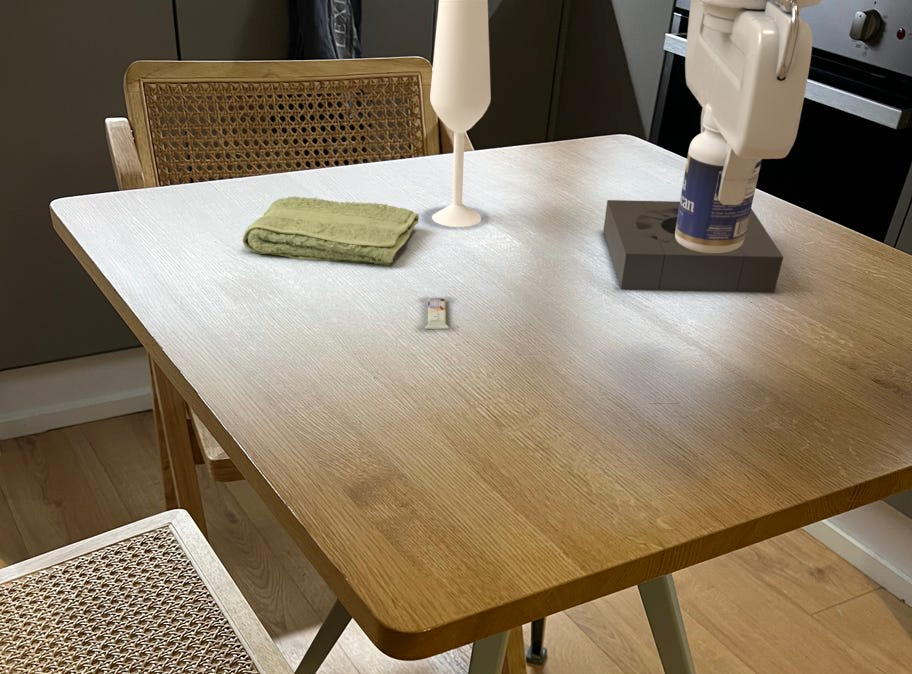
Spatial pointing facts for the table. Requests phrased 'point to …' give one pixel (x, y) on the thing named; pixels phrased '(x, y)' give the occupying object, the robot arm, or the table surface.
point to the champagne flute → (460, 87)
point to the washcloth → (331, 230)
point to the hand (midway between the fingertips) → (718, 186)
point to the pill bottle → (711, 197)
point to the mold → (683, 253)
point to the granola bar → (437, 314)
